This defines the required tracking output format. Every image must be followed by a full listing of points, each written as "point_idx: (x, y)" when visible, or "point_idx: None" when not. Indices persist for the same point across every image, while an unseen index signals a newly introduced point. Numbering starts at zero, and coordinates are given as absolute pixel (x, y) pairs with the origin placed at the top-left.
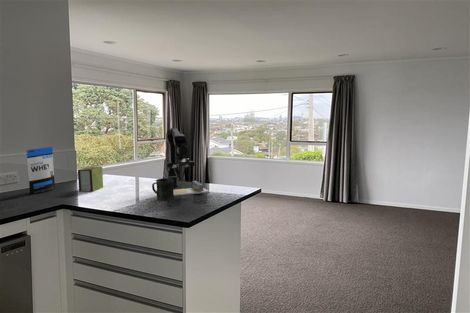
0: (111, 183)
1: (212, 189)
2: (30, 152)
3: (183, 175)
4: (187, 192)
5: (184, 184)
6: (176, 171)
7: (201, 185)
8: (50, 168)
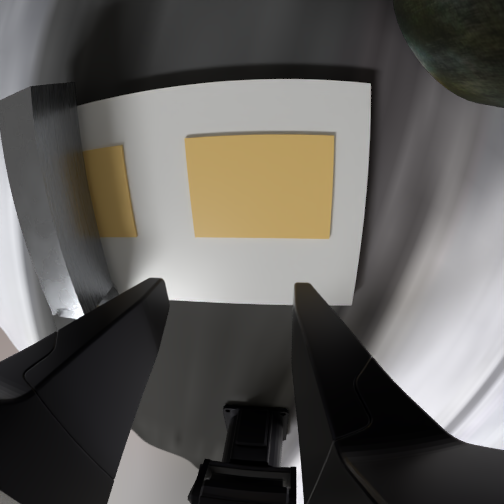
0: None
1: (3, 225)
2: None
3: (143, 291)
4: (192, 112)
5: (180, 425)
6: (369, 390)
7: (12, 95)
8: None
